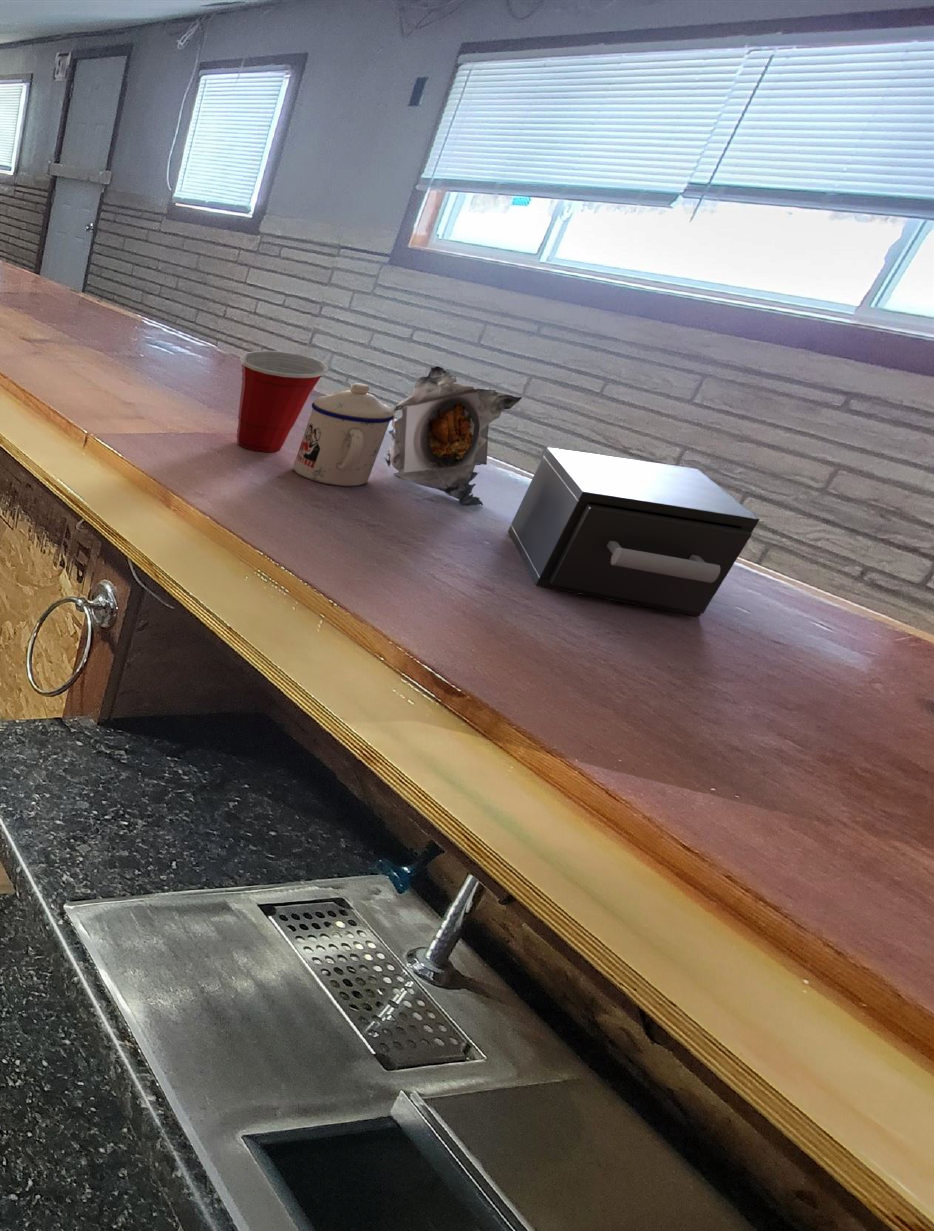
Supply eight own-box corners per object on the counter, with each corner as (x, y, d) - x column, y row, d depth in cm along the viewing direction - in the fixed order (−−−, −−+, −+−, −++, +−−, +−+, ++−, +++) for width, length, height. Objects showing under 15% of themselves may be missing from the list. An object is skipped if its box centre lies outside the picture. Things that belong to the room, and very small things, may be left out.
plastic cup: (216, 451, 123) (241, 361, 117) (217, 430, 131) (240, 346, 125) (303, 463, 119) (334, 372, 113) (298, 442, 128) (326, 356, 122)
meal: (487, 505, 108) (536, 397, 101) (456, 505, 107) (503, 396, 101) (399, 464, 121) (437, 365, 114) (371, 464, 120) (407, 365, 114)
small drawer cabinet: (699, 617, 83) (760, 519, 79) (535, 585, 88) (583, 491, 83) (648, 556, 96) (698, 468, 91) (507, 531, 101) (547, 447, 96)
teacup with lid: (286, 460, 120) (314, 372, 114) (360, 469, 118) (393, 380, 112) (299, 489, 110) (331, 394, 105) (381, 500, 108) (418, 404, 102)
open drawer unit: (720, 633, 79) (772, 551, 75) (560, 602, 83) (602, 523, 79) (654, 556, 93) (695, 484, 89) (522, 533, 98) (555, 463, 94)
